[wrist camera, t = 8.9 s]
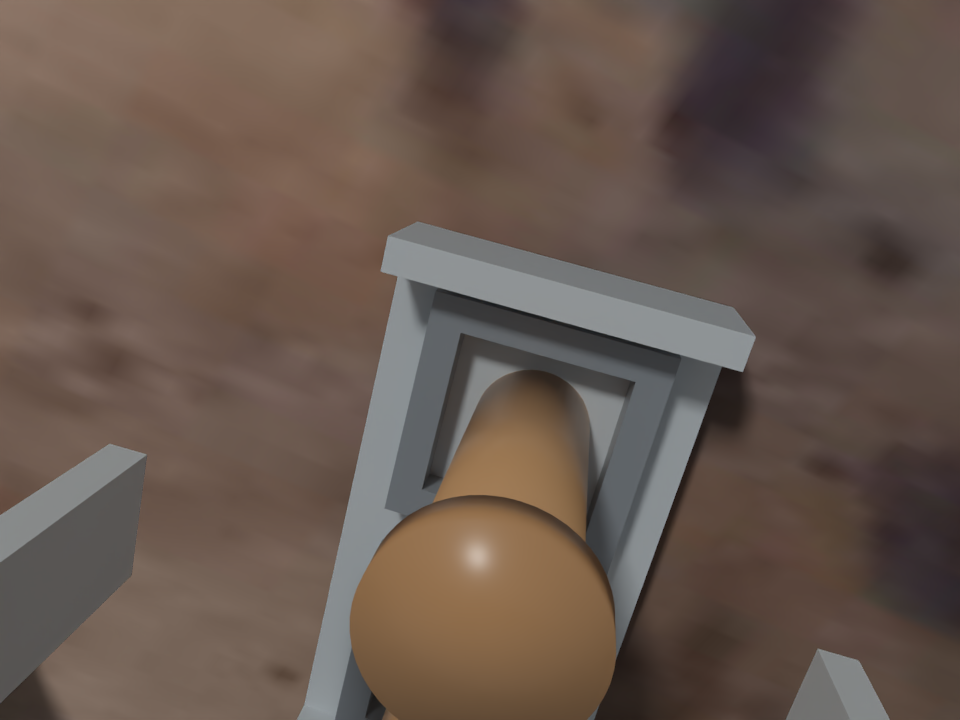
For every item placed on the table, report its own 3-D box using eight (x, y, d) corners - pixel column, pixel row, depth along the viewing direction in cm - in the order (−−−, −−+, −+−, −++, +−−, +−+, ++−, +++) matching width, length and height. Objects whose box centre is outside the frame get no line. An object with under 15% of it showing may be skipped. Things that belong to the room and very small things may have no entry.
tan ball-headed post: (476, 332, 24) (379, 486, 13) (629, 375, 24) (652, 568, 13) (440, 470, 25) (327, 707, 15) (584, 513, 25) (572, 786, 15)
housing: (311, 703, 30) (273, 776, 27) (417, 221, 24) (388, 235, 21) (562, 784, 29) (557, 870, 26) (733, 307, 24) (755, 336, 20)
